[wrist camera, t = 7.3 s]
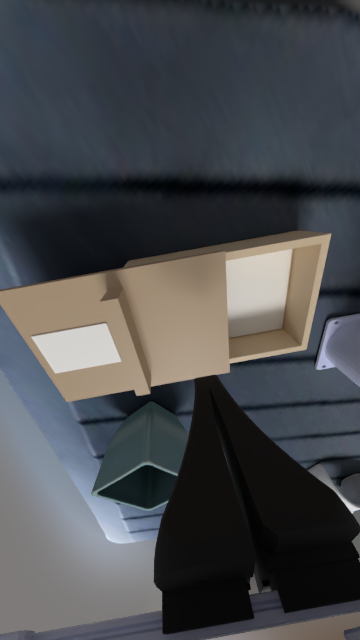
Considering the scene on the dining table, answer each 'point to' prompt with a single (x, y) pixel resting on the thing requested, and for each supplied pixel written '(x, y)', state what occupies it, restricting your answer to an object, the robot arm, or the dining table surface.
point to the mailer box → (268, 290)
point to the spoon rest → (341, 487)
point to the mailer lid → (127, 325)
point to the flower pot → (143, 459)
